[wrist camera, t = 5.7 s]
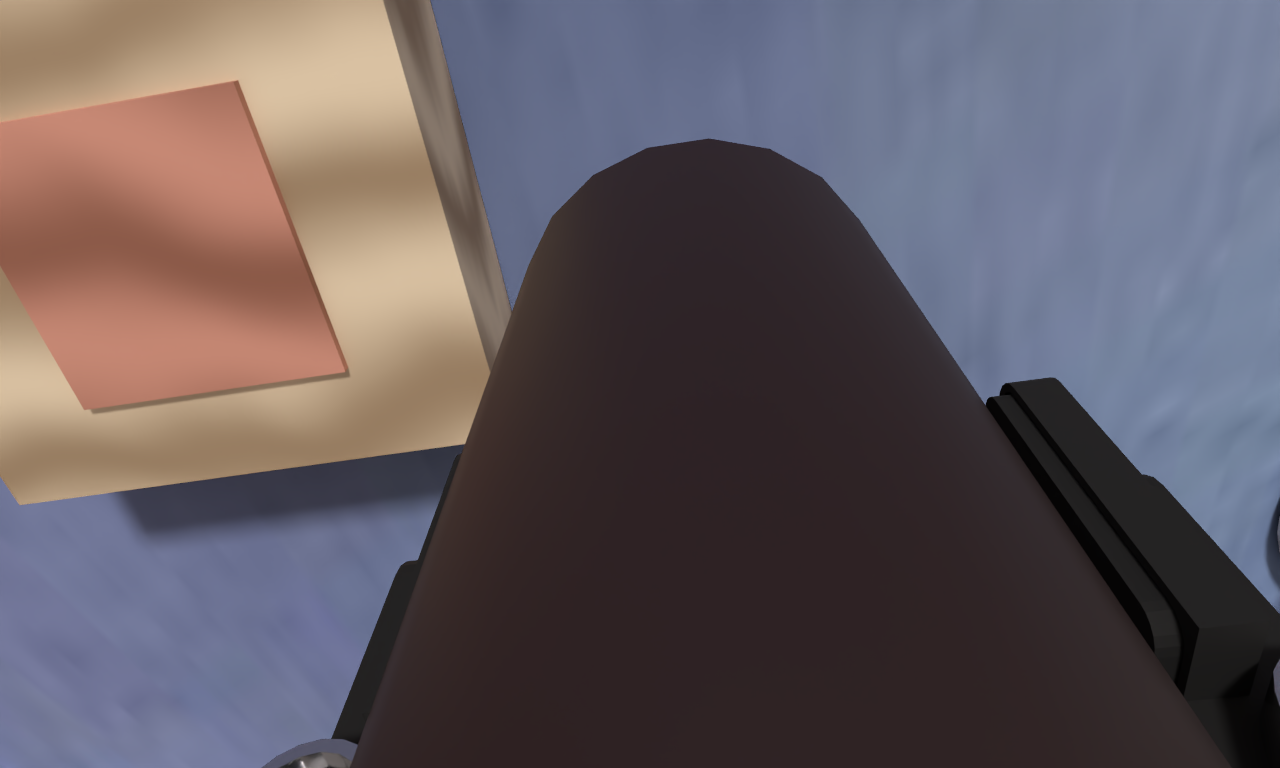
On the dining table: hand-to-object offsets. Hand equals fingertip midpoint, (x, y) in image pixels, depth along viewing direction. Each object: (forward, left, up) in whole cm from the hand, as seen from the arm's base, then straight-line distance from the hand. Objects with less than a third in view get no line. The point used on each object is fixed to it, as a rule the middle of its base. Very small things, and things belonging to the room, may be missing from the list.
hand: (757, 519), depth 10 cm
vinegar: (0, 0, -7) cm, 7 cm away
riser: (0, +16, -20) cm, 26 cm away
